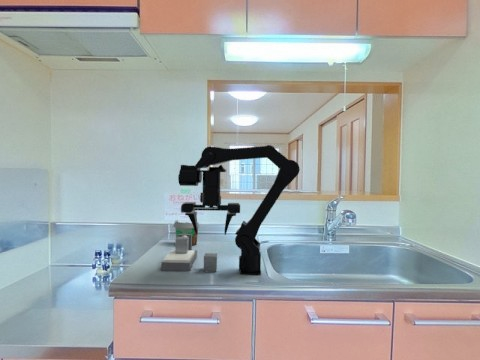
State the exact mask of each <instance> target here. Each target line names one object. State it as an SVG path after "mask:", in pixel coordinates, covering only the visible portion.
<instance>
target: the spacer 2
mask: <svg viewBox="0 0 480 360" xmlns="http://www.w3.org/2000/svg"><path fill="white" fill-rule="evenodd" d="M217 269H218V253H214V252H212V253H211V252H205V253H204V254H203V273H217Z"/></svg>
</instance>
